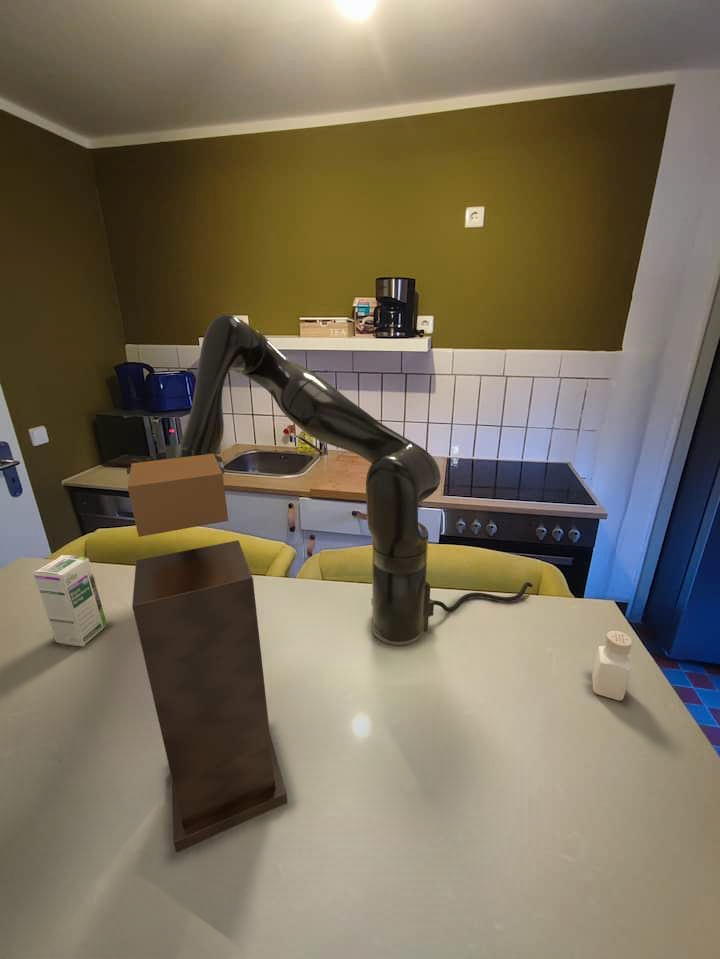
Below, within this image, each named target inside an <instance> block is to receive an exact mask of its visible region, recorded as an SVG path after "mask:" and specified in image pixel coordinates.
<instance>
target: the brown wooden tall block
mask: <svg viewBox="0 0 720 959" xmlns="http://www.w3.org/2000/svg"><path fill="white" fill-rule="evenodd" d="M254 585H255V584H254V577H253V574H252V572H251V569H250V566H249V564H248V561H247V559H246V555H245V553H244V550H243V548H242V546H241V543H240V540H233V541H227V542H223V543H217V544H212V545H207V546H203V547H197V548H193V549H186V550H183V551H176V552H171V553H167V554H162V555H157V556H152V557H147V558H142V559H137V560H135V568H134V580H133V592H132V593H133V594H132V603H131V604H132V611H133V612H132V613H133V617H134V620H135V625H136V629H137V633H138V637H139V641H140V646H141V650H142V655H143V659H144V665H145V669H146V672H147V678H148V682H149V685H150V690H151V694H152V698H153V704H154V707H155V713H156V716H157V720H158V725H159V729H160V733H161V738H162V742H163V747H164V751H165V754H166V759H167V764H168V768H169V772H170V778H171V779H170V780H171V809H172V810H171V812H172V836H173V840H172V841H173V846H174V851H175V853H178V852H180V851H182V850H184V849H187V848H189V847H191V846H193V845H196V844H198V843H201V842H202V841H205V840H207V839H209V838H212V837H213V836H216V835H218V834H220V833H223V832H224V831H227V830H229V829H232V828H234V827H236V826H238V825H240V824H242V823H243V824H244V823H246V822H247V821H250V820H253V819H254V818H256V817H258V816H261V815H263V814H265V813H267V812H270V811H271V810H274V809H276V808H278V807H282V806H283V805H285V804H287V803H288V794H287V790H286V789H287V788H286V785H285V782H284V778H283V775H282V771H281V768H280V765H279V760H278V757H277V753H276V750H275V746H274V743H273V742H274V741H273V739H272V735H271V732H270V722H269V715H268V714H269V713H268V712H269V711H268V703H267V693H266V686H265V675H264V667H263V659H262V657H263V656H262V648H261V640H260V631H259V630H260V629H259V621H258V613H257V604H256V594H255V586H254Z"/></svg>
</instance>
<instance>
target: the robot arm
mask: <svg viewBox="0 0 720 959" xmlns="http://www.w3.org/2000/svg"><path fill="white" fill-rule="evenodd" d="M199 355H200V356H199V360H198V367H197V373H196V378H195V385H194V391H193V396H192V404H191V408H190V413H189V417H188V420H187V422H186V426H185V429H184V432H183V434H182V437H181V440H180V443H179V444H180V445H181V450H182V456H183V457H190V456H198V455H206V454H214V455H215V458H216V460H217V462H218V464H219V467H220V469H221V471H222V473H223V475H224V474H225V467H224V462H223V457H221V456H219V455H218V453H219V450H220V448H221V444H222V441H223V438H224V432H225V418H224V405H223V395H224V394H223V393H224V387H225V382H226V379H227V376H228V374H229V372H230V370H231V371H233V372H235V373H237V374H239V375H242V376H243V377H246V378H248V379H250V380H252V381H253V382H254V383H256V384H257V385H259V386H260V387H262V388H263V389H265V391H267V392H268V393H269V394H270V395H271V396H272V398H273V399H274V401H275V403H276V404H277V406H278V408H279V409H280V411H281V412H282V413H283V414H284V415H285V416H286V418H288V420H289V421H291V422H292V423H293V424H295V425H296V426H297V427H298V428H299V429H301V430H302V431H303V433H305V434H306V435H308V436H309V437H311V438H313V439H315V440H317V441H319V442H321V443H324V444H327V445H329V446H333V447H335V448H339V449H341V450H344V451H347V452H350V453H352V454H355V455H357V456H359V457H361V458H362V459H364V460H366V461H367V462H369V463H370V465H369V467H368V470H367V473H366V477H365V499H366V500H365V501H366V502H365V503H366V519H367V520H366V521H367V526H368V529H369V532H370V535H371V539H372V541H371V542H372V547H371V548H372V553H371V554H372V555H371V556H372V566H371V567H372V569H371V570H372V573H371V574H372V575H371V576H372V577H371V579H372V580H371V586H372V589H371V590H372V591H371V631H372V633H373V635H374V636H375V638H376V639H377V640H379V641H380V642H382V643H385V644H387V645H391V646H398V647H399V646H400V647H402V646H408V645H411V644H412V645H413V644H414V643H416V642H418V641H419V640H420V639H421V638H422V636H423V635H424V633H426V632H428V631H429V619H430V617H432V616H434V610H435V608H434V607H435V606H439V607H440V608H442V609H443V611H445V612H448V613H450V612H453V611H455V610H457V609H458V608H459V607H460V605H461V604H462V603H463V602H464V601H466V600H467V599H469V598H485V599H490V600H494V601H499V602H515V601H517V600H519V599H521V598H522V597H523V595H524V594H525V593H526V590H527V589H528V587H529V588H532V587H533V586H534V585H533V584H532V583H531V582H529V581H526V582H524V583H523V585H522V587H521V588H520V591H519V592H518V593H517V594H516V595H513V596H499V595H495V594H491V593H486V592H485V593H484V592H470V593H469V592H468V593H467V594H463V595H462V596H461V597H460V598H459V599H458V600H457V601H456V602H455V603H454V604H453V605H451V606H447V605H446V604H445V603H444V602H443V601H440V600H434V599H431V584H430V583H429V582H428V581H427V572H428V571H427V570H428V567H427V566H428V550H429V530H428V529H427V527H426V526H425V525H424V524H423V523H421V522H420V521H419V504H420V503H422V502H423V501H425V500H427V499H428V498H429V497H431V496H432V495H433V494H435V492H436V491H437V490H438V489H439V487H440V484H441V477H442V475H441V470H440V467H439V465H438V463H437V460H436V459H435V457H433V456H432V454H430V452H428V451H427V450H426V449H425V448H423V447H422V446H420V445H418V444H417V443H415V442H414V441H412V440H410V439H408V438H407V437H405V436H403V435H401V434H400V433H398V432H396V431H395V430H393V429H391V428H389V427H388V426H386V425H384V424H383V423H381V422H380V421H378V420H377V419H376V418H375V417H373V416H372V415H371V414H370V413H368V412H366V411H365V410H364V409H363V408H361V407H360V406H359V405H357V403H356V404H355V402H353V401H352V400H350V399H349V398H347V397H346V396H345V395H344V394H342V393H341V392H340V391H339V390H337V389H336V388H335V387H334V386H332V385H331V384H330V383H328V382H327V381H326V380H324V379H323V378H322V377H320V376H319V375H317V374H316V373H314V372H312V371H310V370H309V369H307V368H305V367H304V366H302V365H299V364H297V363H296V362H293V361H292V360H291V359H289V358H288V357H286V355H285V354H283V353H282V352H281V351H280V350H279V349H278V348H277V347H276V346H275V345H274V344H273V343H272V342H271V341H270V340H269V339H268V338H267V337H266V336H265V335H264V334H262V333H261V331H260V330H258V329H257V328H255V327H253V326H252V325H250V324H249V323H247V322H245V321H243V320H241V319H240V318H238V317H236V316H235V315H232V314H228V313H225V314H220V315H218V316H216V317H214V318H213V319H212V320H211V322H209V324H208V326H207V327H206V329H205V332H204V336H203V339H202V344H201V349H200V354H199ZM153 459H154V460H153V461H156V460H164V459H166V450H165V449H159V450H158V453H155V454H154V455H153ZM148 461H152V459H151V458H143V459H141V460H140V461H138V462H137V463H139V462H148ZM130 470H131V466H130V467H128V468H127V469H126V475H127V483H128V482H129V476H130Z"/></svg>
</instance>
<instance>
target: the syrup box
mask: <svg viewBox="0 0 720 959" xmlns="http://www.w3.org/2000/svg"><path fill="white" fill-rule="evenodd" d="M32 575H33V578H34V581H35V584H36V587H37V590H38V594H39V596H40V599H41V602H42V605H43V608H44V611H45V615H46V617H47V620H48V623H49V626H50V628H51V632H52V634H53V638H54V640H55V643H58V644H63V645H69V646H76V647H82V648H83V647H85V646H86V645H87V643H88V642H90V641H91V640H92V639H93V638H94V637H96V636H97V635H98V634H99V633H100V632H101V631H103V629H105V628H106V627H107V626H108V623H107V619H106V615H105V612H104V608H103V605H102V601H101V598H100V594H99V591H98V586H97V583H96V580H95V575H94V573H93V569H92V565H91V562H90V558H89V557H86V556H80V555H72V554H70V555H69V554H61V555H60V556H58V557H57V558H56V559H53V561H50V562H49V563H47V564H45V565H44V566H42V567H40V568H39V569H37V570H35V571H33V572H32Z"/></svg>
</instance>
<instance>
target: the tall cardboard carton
mask: <svg viewBox="0 0 720 959" xmlns="http://www.w3.org/2000/svg"><path fill="white" fill-rule="evenodd" d="M164 450H165V452H166V459H164V460H156V461H155V460H151V461H148V462H139V461H138V462H139V463H138V462H131V463H130V464H131V465H130V467H131V470H130V476H129V482H128V481H127V483H128V484H127V491H128V495H129V500H130V503H131V510H132V514H133V520H134V522H135V527H136V532H137V537H138V538H141V537H146V536H152V535H158V534H162V533H163V534H164V533H169V532H175V531H179V530H185V529H190V528H196V527H203V526H209V525H214V524H219V523H224V522H225V523H226V522H228V521H229V514H228V505H227V499H226V498H227V496H226V490H225V482H224V474H223V473H222V471H221V469H220V467H219V464H218V462H217V460H216V458H215V455H214V454H206V455H198V456H190V457H183V456H182V450H181V445H180V443H179V444H170V445H165V446H164Z"/></svg>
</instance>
